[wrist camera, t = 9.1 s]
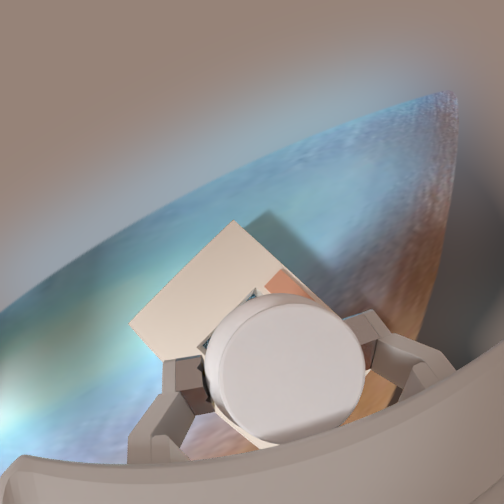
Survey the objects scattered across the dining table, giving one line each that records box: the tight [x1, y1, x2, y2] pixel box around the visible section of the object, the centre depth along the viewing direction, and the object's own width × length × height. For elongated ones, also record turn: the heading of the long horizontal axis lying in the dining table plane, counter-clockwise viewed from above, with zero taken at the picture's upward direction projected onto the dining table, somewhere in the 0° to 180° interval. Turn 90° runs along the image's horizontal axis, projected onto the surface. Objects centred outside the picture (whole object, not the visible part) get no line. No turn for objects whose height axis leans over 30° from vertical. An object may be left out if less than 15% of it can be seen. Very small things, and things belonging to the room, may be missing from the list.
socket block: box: [128, 220, 371, 449], centre depth 25 cm, size 18×13×4 cm
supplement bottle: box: [204, 293, 365, 445], centre depth 12 cm, size 5×5×10 cm
